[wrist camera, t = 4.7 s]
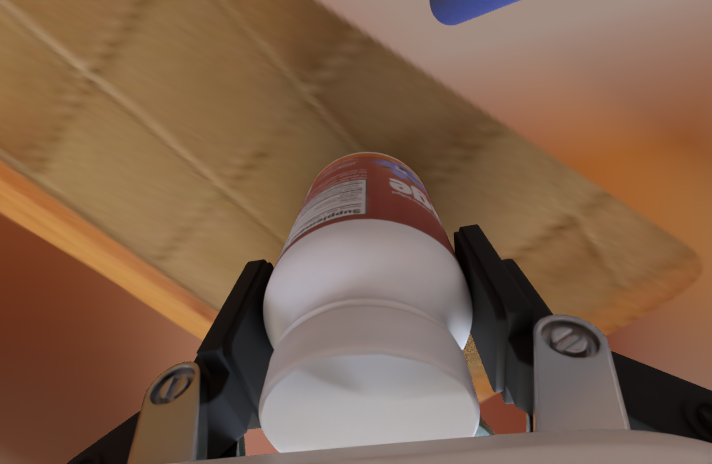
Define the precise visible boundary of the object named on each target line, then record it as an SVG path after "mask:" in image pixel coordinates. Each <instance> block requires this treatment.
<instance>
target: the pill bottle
mask: <svg viewBox="0 0 712 464" xmlns="http://www.w3.org/2000/svg"><path fill="white" fill-rule="evenodd" d="M472 316H473V308H472V298H471V293H470V290H469V287H468V284H467V281H466V278H465V276H464V273H463V270H462V268H461V266H460V264H459V262H458V259H457V257H456V255H455V253H454V250H453V248H452V246H451V244H450V242H449V239H448V236H447V235H446V232H445V230H444V228H443V226H442V224H441V222H440V219H439V217H438V215H437V213H436V211H435V209H434V207H433V204H432V202H431V200H430V198H429V196H428V194H427V191H426V189H425V187H424V185H423V184H422V182H421V180H420V179H419V177H418V176H417V175H416V174H415V173H414V172H413V171H412V170H411V169H410V168H409V167H408V166H407V165H405V164H404V163H403V162H401V161H399V160H398V159H396V158H394V157H391V156H389V155H386V154H382V153H376V152H358V153H353V154H349V155H346V156H343V157H341V158H339V159H337V160H335V161H333V162H332V163H330V164H329V165H327V166H326V167H325V168H324V169H323V170H322V171H321V172H320V173H319V174H318V176H317V177H316V178H315V180H314V181H313V183H312V185H311V187H310V189H309V191H308V193H307V196H306V198H305V200H304V202H303V205H302V207H301V209H300V212H299V214H298V216H297V218H296V221H295V223H294V225H293V228H292V230H291V232H290V234H289V236H288V239H287V241H286V243H285V246H284V248H283V250H282V252H281V254H280V257H279V259H278V261H277V263H276V265H275V267H274V269H273V272H272V274H271V277H270V280H269V282H268V285H267V288H266V291H265V296H264V302H263V318H264V324H265V329H266V333H267V335H268V338H269V341H270V343H271V345H272V347H273V349H274V352H273V354H272V356H271V359H270V362H269V367H268V371H267V375H266V378H265V382H264V386H263V390H262V393H261V397H260V402H259V420H260V425H261V428H262V430H263V432H264V434H265V436H266V437H267V439H268V440H269V442H270V443H271V444H272V445H273V447H274V448H275V449H277V450H278V451H279V452H280V453H286V452H297V451H309V450H320V449H331V448H343V447H355V446H366V445H378V444H390V443H401V442H414V441H426V440H438V439H451V438H463V437H474V435H475V433H476V431H477V429H478V425H479V420H480V410H479V403H478V399H477V396H476V392H475V389H474V386H473V382H472V378H471V375H470V371H469V368H468V365H467V362H466V358H465V356H464V353H463V349H464V347H465V345H466V342H467V340H468V337H469V333H470V330H471V325H472Z"/></svg>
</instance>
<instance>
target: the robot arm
mask: <svg viewBox="0 0 712 464" xmlns="http://www.w3.org/2000/svg"><path fill="white" fill-rule="evenodd" d="M454 246H455V255H456V257H457V259H458V262H459V264H460V266H461V268H462V270H463V273H464V276H465V278H466V281H467V284H468V287H469V290H470V293H471V298H472V308H473V316H472V325H471V330H470V332H471V335H472V337H473V340H474V342H475V345H476V348H477V350H478V353H479V356H480V358H481V361H482V363H483V366H484V369H485V371H486V374H487V376H488V379H489V382H490V384H491V387H492V389H493V391H494V392H501V395H502V397H503V400H504V402H505V404H512V403H514V404H515V406H516V407H518V408H519V409H521V410H523V411H524V412H526V433H517V434H501V435H488V436H475V437H463V438H451V439H438V440H426V441H414V442H401V443H390V444H378V445H366V446H355V447H343V448H331V449H320V450H309V451H297V452H286V453H275V454H264V455H253V456H245V441H244V434H245V433H246V432H247V430H248V429H256V428H261V425H260V420H259V402H260V397H261V393H262V390H263V386H264V382H265V378H266V375H267V371H268V367H269V362H270V359H271V356H272V354H273V352H274V349H273V347H272V345H271V343H270V341H269V338H268V335H267V333H266V329H265V324H264V318H263V302H264V296H265V291H266V288H267V285H268V282H269V280H270V277H271V274H272V272H273V269H274V268H273V265H272V264H271V263H270V262H269V263H267V261H266V260H264V259H263V260H257V261H251V262H248V263H247V264H246V266H245V268H244V270H243V271H242V273H241V275H240V277H239V278H238V280H237V282H236V284H235V285H234V287H233V289H232V291H231V293H230V294H229V296H228V298H227V300H226V301H225V303H224V305H223V307H222V309H221V310H220V312H219V314H218V316H217V317H216V319H215V321H214V323H213V324H212V326H211V328H210V330H209V332H208V333H207V335H206V337H205V339H204V340H203V342H202V344H201V346H200V348H199V349H198V351H197V354H198V355H197V357H196V359H195V361H194V362H182V363H179V364H176V365H174V366H172V367H170V368H168V369H167V370H166V371H164V372H163V373H161V374H160V375H159V376H158V377H157V378H156V379H155V380H154V381H153V382H152V383H151V384H150V386H149V387H148V389H147V391H146V393H145V396H144V398H143V402H142V406H141V410H140V411H139V412H138V413H136V414H135V415H133V416H132V417H131V418H129V419H128V420H126V421H125V422H124V423H122V424H121V425H119V426H118V427H117V428H115V429H114V430H112V431H111V432H109V433H108V434H107V435H105V436H104V437H102V438H101V439H100V440H98V441H97V442H96V443H94V444H93V445H91V446H90V447H88V448H87V449H86V450H84V451H83V452H81V453H80V454H79V455H77V456H76V457H74V458H73V459H72V460H71V461H69V462H68V463H67V464H712V391H711V390H708V389H706V388H703V387H701V386H698V385H696V384H693V383H691V382H688V381H686V380H683V379H680V378H678V377H676V376H673V375H670V374H668V373H665V372H663V371H660V370H658V369H655V368H653V367H650V366H648V365H645V364H643V363H640V362H638V361H635V360H633V359H630V358H628V357H625V356H623V355H620V354H617V353H615V352H612V351H611V350H610V346H609V343H608V341H607V339H606V337H605V335H604V334H603V333H602V332H601V331H600V330H599V329H598V328H597V327H595V326H594V325H592V324H591V323H589V322H587V321H585V320H583V319H580V318H578V317H574V316H569V315H553V314H552V312H551V311H550V309H549V308H548V307H547V305H546V304H545V303H544V301H543V300H542V298H541V297H540V296H539V294H538V293H537V292H536V290H535V289H534V287H533V286H532V285H531V283H530V282H529V281H528V279H527V278H526V276H525V275H524V274H523V272H522V271H521V270H520V268H519V267H518V265H517V264H516V263H515V262H514V261H513V260H512V259H505V260H501V258H500V257H499V255H498V254H497V252H496V251H495V249H494V248H493V246H492V245H491V243H490V242H489V240H488V239H487V237H486V236H485V235H484V233H483V232H482V230H481V229H480V227H479V226H478V225H477V224H476V225H470V226H464V227H460V228H459V232H454Z"/></svg>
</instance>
